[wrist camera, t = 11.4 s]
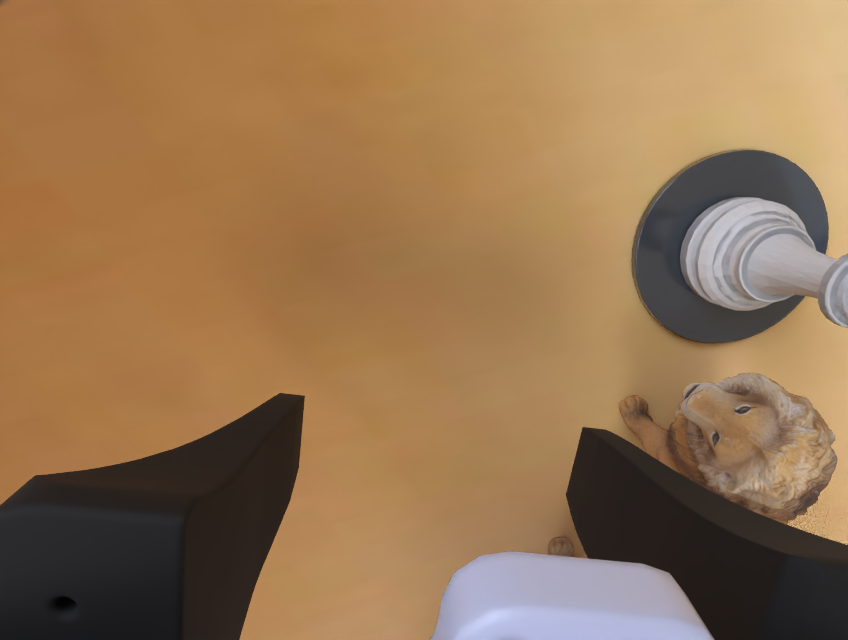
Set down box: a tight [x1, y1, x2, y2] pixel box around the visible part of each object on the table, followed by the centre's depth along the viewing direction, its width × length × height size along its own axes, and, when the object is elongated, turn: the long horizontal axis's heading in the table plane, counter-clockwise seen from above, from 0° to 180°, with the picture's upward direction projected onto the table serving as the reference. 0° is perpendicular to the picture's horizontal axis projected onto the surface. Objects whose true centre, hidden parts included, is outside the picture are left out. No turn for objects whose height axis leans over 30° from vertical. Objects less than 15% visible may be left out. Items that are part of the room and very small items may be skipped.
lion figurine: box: [548, 373, 837, 558], centre depth 21 cm, size 15×5×9 cm, turn 168°
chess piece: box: [680, 197, 848, 328], centre depth 17 cm, size 4×4×10 cm
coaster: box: [632, 150, 829, 343], centre depth 22 cm, size 8×8×1 cm
